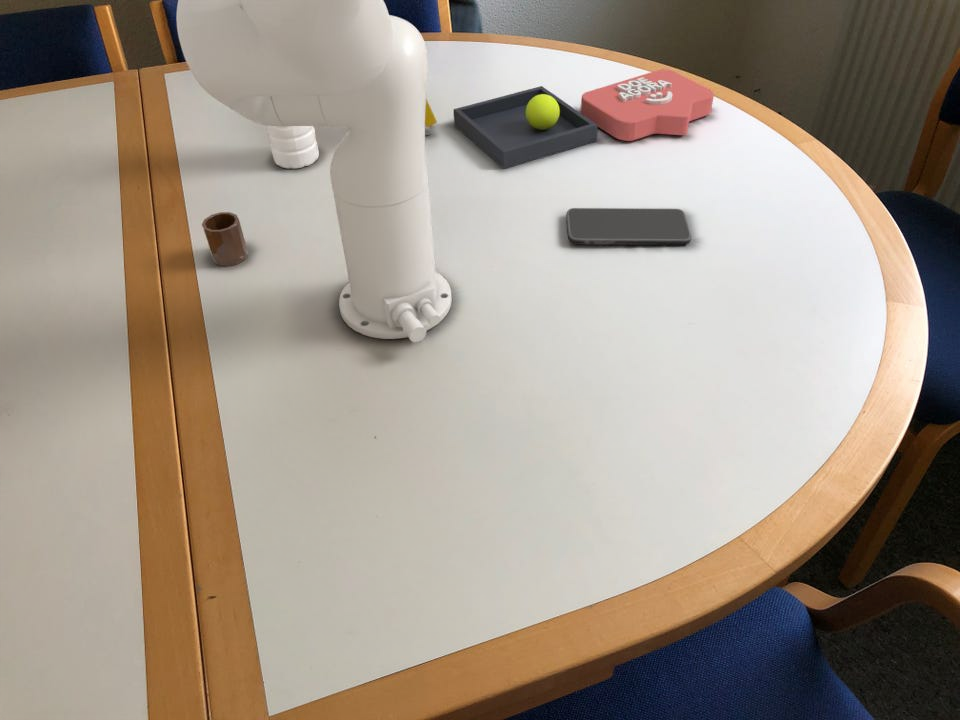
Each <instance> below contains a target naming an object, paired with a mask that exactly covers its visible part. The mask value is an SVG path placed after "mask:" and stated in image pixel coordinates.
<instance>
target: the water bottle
mask: <svg viewBox="0 0 960 720" xmlns="http://www.w3.org/2000/svg"><path fill="white" fill-rule="evenodd" d="M265 127H266V130H267V133H268V139H269V143H270V148H271V153H272V157H273V162H274V163H275V164H276V165H277V166H280V167H281V168H284V169H292V170H293V169H301V168H304V167H308V166H311V165H312V164H314V163H315V162H316V161H317V160H318V159H319V156H320V151H319V146H318V141H317V139H316V136H317V135H316V131H315V126H267V125H265Z"/></svg>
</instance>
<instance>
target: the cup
mask: <svg viewBox="0 0 960 720" xmlns="http://www.w3.org/2000/svg"><path fill="white" fill-rule="evenodd" d="M201 227H202V230H203V233H204V236H205V239H206V243H207V246H208V250H209V252H210V255H211V257H212V261H213V262H214V264H216V265H218V266H221V267H231V266H236V265H238V264H241V263H242V262H243V261H245V260H246V259H247V257H248V255H249V252H248V246H247V243H246V238H245V237H244V236H245V235H244V233H243V229H242V225H241V221H240V218H239V217H238V214H235V213H234V212H229V211H220V212H218V213H217V212H216V213H213V214H210V215H209V216H207V217H205V218H204V219H203V221H202V223H201Z"/></svg>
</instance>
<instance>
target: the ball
mask: <svg viewBox="0 0 960 720" xmlns="http://www.w3.org/2000/svg"><path fill="white" fill-rule="evenodd" d="M559 114H560V109H559V105H558V103H557V101H556V100H555V99H554V98H553V97H551V96H549V95H546V94H540V95H537V96H535V97H533V98H532V99H531V100H530V101H529V103H528V104H527V107H526V118H527V120H528V122H529V123H530V125H531V126H533V127H534V128H536V129H540V130H545V129H548V128H551V127H552V126H553V125H554V124H555V123H556V122H557V120H558V118H559Z"/></svg>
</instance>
